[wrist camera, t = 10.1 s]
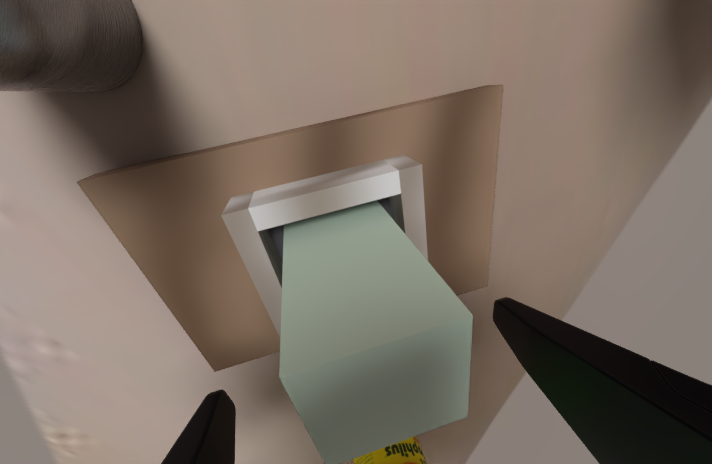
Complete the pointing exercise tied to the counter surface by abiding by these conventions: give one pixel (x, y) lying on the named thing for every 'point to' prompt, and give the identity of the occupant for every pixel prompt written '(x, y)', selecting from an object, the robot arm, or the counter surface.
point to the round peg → (68, 44)
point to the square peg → (368, 334)
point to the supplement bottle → (395, 454)
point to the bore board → (303, 209)
